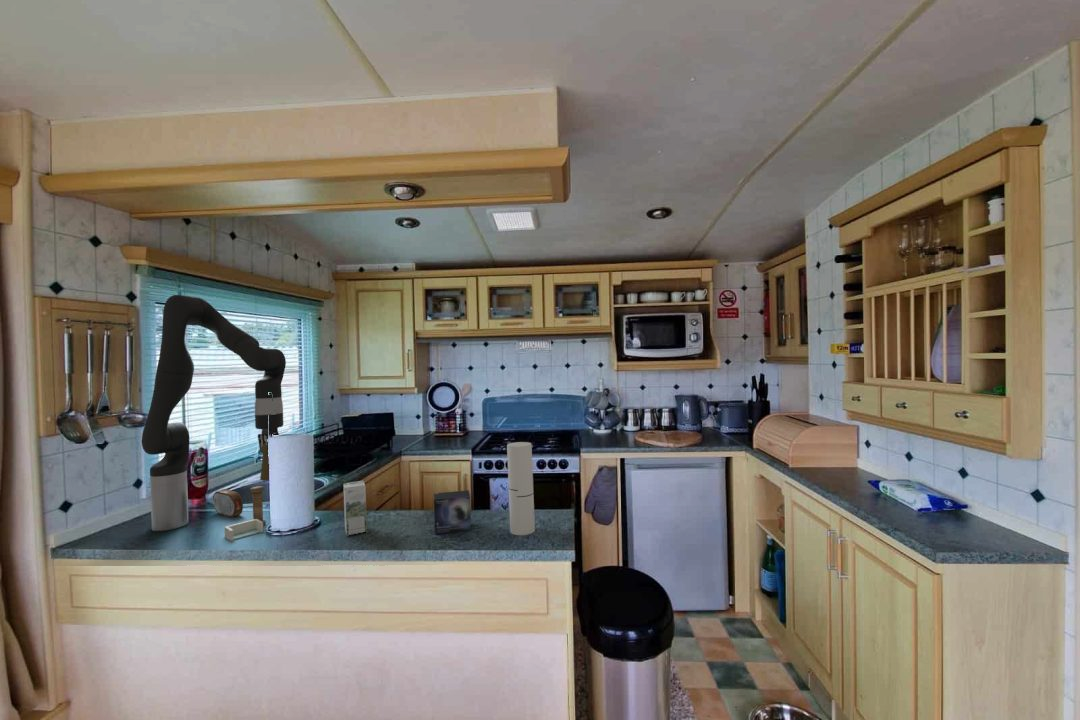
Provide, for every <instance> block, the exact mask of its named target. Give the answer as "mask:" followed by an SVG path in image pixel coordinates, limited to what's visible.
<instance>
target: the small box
mask: <svg viewBox="0 0 1080 720" xmlns="http://www.w3.org/2000/svg"><path fill="white" fill-rule="evenodd" d="M470 495H471V494H470V491H469V490H468V489H467V490H458V491H446V492H435V493H433V511H434V512H433V516H434V520H433V521H434V535H445V534H453V533H461V532H464V533H465V532H471V531H472V519H471V496H470Z"/></svg>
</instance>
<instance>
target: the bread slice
mask: <svg viewBox="0 0 1080 720" xmlns="http://www.w3.org/2000/svg"><path fill="white" fill-rule="evenodd" d="M212 498H213V499H212V500H213V508H214V510H215V512H217V514H219V515H221V516H225V517H228V518H234V517H237V516H240V515H241V514H243V510H244V504H243V499H242V497H241V495H240V494H239V493H238V492H237V491H234V490H230V489H227V488H222V489H221V490H217V491H214V493H213V496H212Z"/></svg>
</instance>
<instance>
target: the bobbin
mask: <svg viewBox="0 0 1080 720" xmlns="http://www.w3.org/2000/svg"><path fill="white" fill-rule="evenodd" d="M264 488H265V487H264V486H262V485H259V486H258V485H257V486H253V487H251V488H249V489H250V491H249V492H250V493H252V517H253V519H258V520H260V521H262V522H263V525H264V526H265V524H266V525H267V521H266V519H265V520H264V509H263V508H264V507H263V505H264V504H263V491H264V490H265V489H264ZM253 519H252V520H253Z"/></svg>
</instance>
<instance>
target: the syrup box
mask: <svg viewBox="0 0 1080 720" xmlns="http://www.w3.org/2000/svg"><path fill="white" fill-rule="evenodd" d="M366 489H367V488H366V484H365V482H364V480H359V481H352V482H351V481H350V482H344V483H343V511H344V512H343V514H344V517H343V519H344V531H345V535H346V537H350V536H349V535H351V536H355V535H354V534H356V535H359V534H358V533H361V534H364V533H363V532H366V533H368V530H367V529H368V527H367V524H368V523H367V522H368V521H367V493H366V492H367V490H366Z"/></svg>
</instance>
